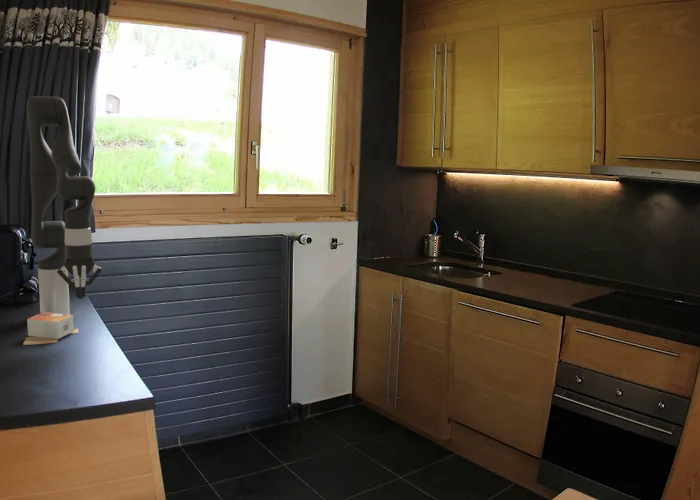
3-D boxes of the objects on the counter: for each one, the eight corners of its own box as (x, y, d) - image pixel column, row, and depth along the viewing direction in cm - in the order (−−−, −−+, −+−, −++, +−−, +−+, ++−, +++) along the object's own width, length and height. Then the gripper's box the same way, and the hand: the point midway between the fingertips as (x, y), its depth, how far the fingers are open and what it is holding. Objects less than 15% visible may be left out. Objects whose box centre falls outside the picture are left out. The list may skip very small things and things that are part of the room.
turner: (28, 338, 192) (28, 334, 192) (29, 333, 196) (29, 330, 196) (78, 333, 197) (78, 330, 197) (78, 329, 202) (78, 326, 202)
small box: (57, 322, 188) (26, 318, 190) (58, 339, 189) (27, 336, 191) (73, 314, 196) (43, 311, 197) (74, 331, 197) (44, 328, 199)
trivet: (26, 338, 191) (26, 337, 191) (58, 336, 194) (58, 334, 194) (23, 345, 184) (23, 343, 184) (56, 342, 187) (56, 341, 187)
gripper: (102, 240, 194) (104, 294, 197) (55, 241, 190) (58, 296, 192) (101, 243, 187) (104, 300, 190) (53, 245, 183) (56, 302, 185)
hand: (81, 298), depth 191 cm, fingers closed
